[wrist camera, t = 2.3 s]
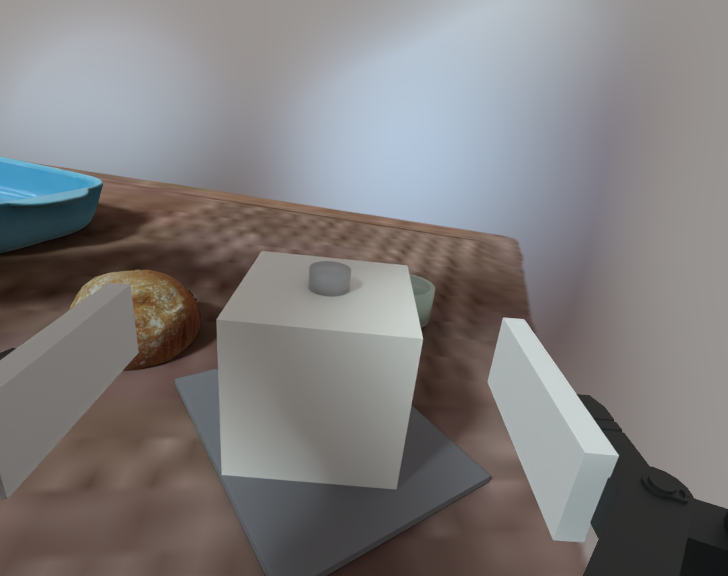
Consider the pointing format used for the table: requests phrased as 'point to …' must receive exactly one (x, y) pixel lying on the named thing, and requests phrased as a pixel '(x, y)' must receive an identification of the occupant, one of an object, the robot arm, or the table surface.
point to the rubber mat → (333, 495)
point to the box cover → (318, 370)
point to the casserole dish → (43, 203)
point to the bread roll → (154, 313)
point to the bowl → (423, 298)
